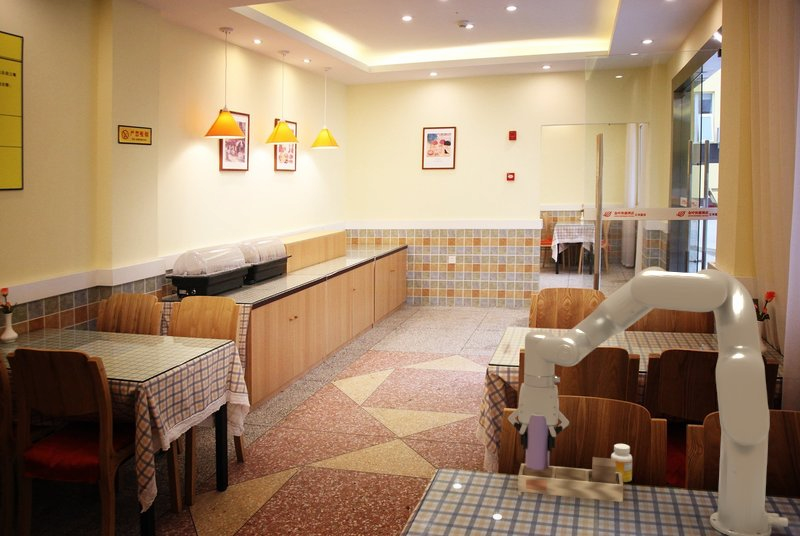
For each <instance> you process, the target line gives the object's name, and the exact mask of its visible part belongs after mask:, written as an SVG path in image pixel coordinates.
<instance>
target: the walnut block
mask: <svg viewBox="0 0 800 536" xmlns="http://www.w3.org/2000/svg"><path fill="white" fill-rule="evenodd" d="M591 467H592V469H591V470H592V482H599V483H610V484H616V463H615V459H611V458H607V457H596V456H592V466H591Z"/></svg>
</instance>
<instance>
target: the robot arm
mask: <svg viewBox="0 0 800 536" xmlns="http://www.w3.org/2000/svg"><path fill="white" fill-rule="evenodd" d="M654 309H660V310H670V311H671V310H673V311H681V312H694V313H695V312H696V313H707V312H708V313H709V312H713V314H714V318H715V319H714V320H715V329H716V330H715V331H716V337H717V348H718V349H717V350H718V357H717V360H716V361H717V362H716V367H715V384H716V392H717V395H716V396H717V403H718V404H717V405H718V413H719V423H720V429H721V435H720V454H719V455H720V457H719V476H718V477H719V478H718V493H717V494H718V495H717V496H718V497H717V498H718V500H717V501H718V502H717V511H716V512H714V513H711V515H710V516H709V523H710V525H711V527H713V529H715V530H716V531H718V532H720V533H722V534H724V535H726V536H771V535H772V527H773V526H778V527H786V528H787V527H788V526H789V520H788V517H782V516H780V515H779V513H775V512H773V513H771V512H768V511H767V510H766V508H765V506H766V503H765V502H766V487H767V486H766V485H767V466H768V449H769V448H768V447H769V446H768V445H769V431H770V419H771V418H770V410H769V404H768V391H767V383H766V370H765V363H764V359H763V356H762V349H761V342H760V333H759V332H760V331H759V327H758V326H759V325H758V317H757V316H758V315H757V312H756V307H755V303H754V301H753V298H752V296H751V294H750V293H749V291H748V289H747V288H746V287H745V286H744V284H743V283H741V281H740V280H738V279H737V278H736V277H734V276H733V275H730V274H729V273H727V272H724V271H722V270H718V269H715V268H714V269H713V268H706V269H700V270H698V271H697V272H679V271H677V272H676V271H675V272H674V271H667V270H666V269H664V268H662V267H659V266H649V267H646V268H644V269H642V270H641V271H639V272H638V273H637V274H635V276H634V277H632V278H631V279H630V280H628V281H627V282H626V283H625V284H623V285H622V286H620V288H618V289H616V291H614V292H613V293H612V294H610V295H608V297H606V298H604V300H603V301H602V302H600V303H599V305H598V306H597V307H596V308H595V310H594V311H592V312H591V313H590V314H589V315H587V316H586V318H584V319H583V320H582V321H580V322H579V323H577V324H576V325H575V326H574V327H573V328H571V329H569V330H568V331H567V332H565V333H563V335H559V336H555V335H554V334H553V333H552V332H549V331H542V330H539V331H538V330H536V331H535V330H534V331H528V332H527V333H526V334H525V338H524V370H523V373H524V374H523V382H522V383H521V385H520V390H519V395H518V396H519V398H518V407H517V408H516V409H515V410H514V411H513V412H512V413H511V414H510V415H508V416H507V420H508V421H509V422H510V423H511V424H512V425H513V427H514V428H515V430H517V432H519V434H520V446H522V450H523V451H524V450H525V451H526V427H527V424H529V421H530V417H531V416H532V414H544V417H545V418H546V423H547V425H548V426H549V430H550V436H549V451H550V452H549V453H552V452H553V449H555V448H556V437H557V435H558V434H560V433H561V432H562V431H563V430H564V429H565V428H566V427H569V425H570V421H569V420H568V418H566V416H565V415H564V414H563V413H562V412H561V411H560V401H559V391H558V389H559V388H558V385H557V383H561V377H560V376H557V375H556V374H555V365H558V366H560V367H561V366H563V367H573V366H576V365H577V364H579V363H580V362H581V361H582V360H583V359H584V358H585V357H586V356H587V355H589V354H590V353H592V352H593V351H594V350H595V349H596V348H598V347H599V346H600V345H602V344H603V343H605V342H606V341H607V340H609V339H610V338H611V337H613V336H615V335H616V334H619V333H622V332H624V331H625V330H627V329H628V328H629V327H631V326H633V325H634V324H635V323H636V322H638V321H639V320H640V319H642V318H643V317H645V316H646V315H647V314H648V313H650V312H651V311H652V310H654ZM516 418H517V419H518V420H517V419H516ZM559 420H560V422H561V423H560V424H558V423H559Z"/></svg>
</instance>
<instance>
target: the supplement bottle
mask: <svg viewBox="0 0 800 536" xmlns="http://www.w3.org/2000/svg"><path fill="white" fill-rule="evenodd" d="M630 452H631V447H630V445H628V444H625V443H616V444H614V445H613V452H612V453H611V455H610V459H615V463H616V472H621V473H622V480H623V483H627V482H628V483H629V482H631V481H632V479H633V456H632V454H630Z"/></svg>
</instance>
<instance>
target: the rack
mask: <svg viewBox="0 0 800 536" xmlns="http://www.w3.org/2000/svg"><path fill="white" fill-rule="evenodd" d="M519 467H520V468H519V471H518V476H517V495H518V496H522V493H530V494H537V495H538V494H540V495H548V496H549V495H551V496H561V497H567V498H568V497H570V498H577V499H578V498H579V499H588V500H599V501H608V502H609V501H611V502H617V503H618V502H620V503H624V482H623V480H622V473H621V472H616V484H610V483H599V482H592V469H587V468H577V467H568V466H567V467H566V466H558V465H557V466H554V465H549V468H548V469H547V470H546V471H543V472H535V471H531V470H529V469H528V468H527V467H526V463H522V462H521V463H520V466H519Z"/></svg>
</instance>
